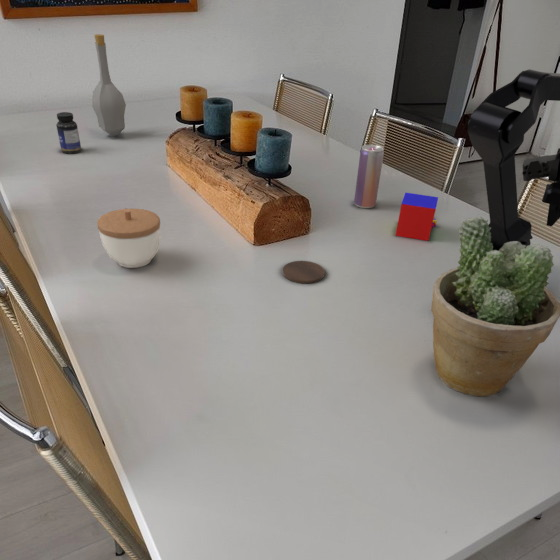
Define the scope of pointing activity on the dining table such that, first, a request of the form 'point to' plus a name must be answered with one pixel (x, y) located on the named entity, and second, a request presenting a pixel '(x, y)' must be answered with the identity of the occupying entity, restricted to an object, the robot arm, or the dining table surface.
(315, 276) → the coaster
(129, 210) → the lidded bowl
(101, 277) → the dining table surface
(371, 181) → the beverage can
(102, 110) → the bottle
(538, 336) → the potted plant
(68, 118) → the pill bottle
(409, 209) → the cube
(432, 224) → the building blocks
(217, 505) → the dining table surface
